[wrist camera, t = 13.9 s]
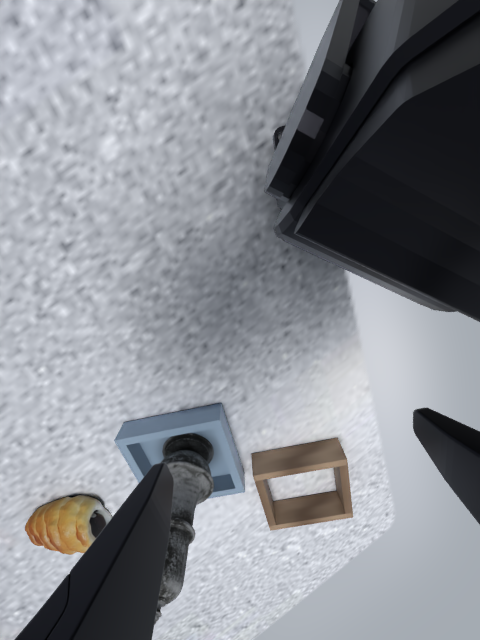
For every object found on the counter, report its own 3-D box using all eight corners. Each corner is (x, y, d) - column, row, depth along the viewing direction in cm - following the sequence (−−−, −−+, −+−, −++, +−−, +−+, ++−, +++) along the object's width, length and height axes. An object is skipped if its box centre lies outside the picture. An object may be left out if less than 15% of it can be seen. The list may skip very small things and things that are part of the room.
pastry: (51, 533, 33) (29, 571, 29) (23, 499, 30) (-6, 537, 27) (120, 521, 32) (106, 559, 28) (97, 486, 29) (78, 523, 26)
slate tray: (221, 402, 25) (219, 419, 23) (244, 472, 28) (244, 492, 26) (124, 422, 25) (114, 440, 23) (159, 487, 29) (153, 507, 27)
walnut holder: (337, 437, 27) (347, 459, 24) (344, 493, 30) (353, 517, 28) (251, 453, 27) (253, 475, 25) (267, 506, 31) (270, 530, 28)
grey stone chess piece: (224, 438, 26) (215, 608, 15) (207, 476, 28) (188, 649, 17) (166, 424, 25) (111, 592, 14) (154, 464, 27) (97, 638, 16)
